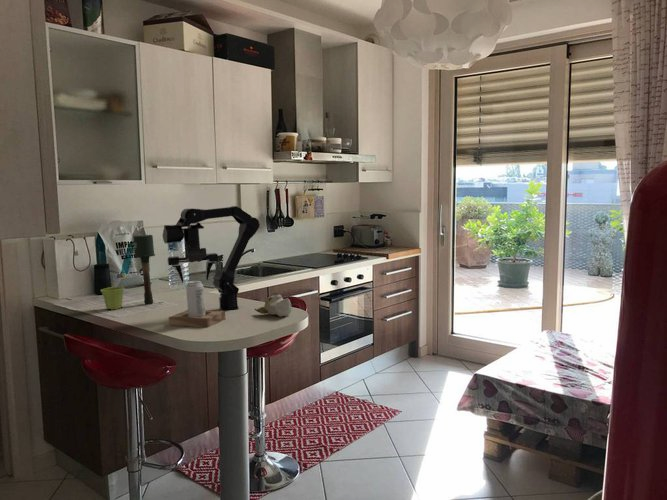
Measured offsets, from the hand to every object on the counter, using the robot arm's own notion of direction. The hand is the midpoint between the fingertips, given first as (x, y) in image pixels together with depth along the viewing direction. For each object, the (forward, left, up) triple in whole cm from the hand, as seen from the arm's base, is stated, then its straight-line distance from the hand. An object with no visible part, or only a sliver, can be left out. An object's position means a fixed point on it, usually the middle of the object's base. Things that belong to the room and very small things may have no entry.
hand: (194, 281), depth 207 cm
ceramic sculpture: (-27, +18, -13) cm, 35 cm away
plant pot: (+31, -31, -13) cm, 46 cm away
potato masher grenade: (+17, -33, -13) cm, 39 cm away
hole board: (+2, +15, -13) cm, 20 cm away
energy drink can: (+2, +14, -13) cm, 20 cm away
